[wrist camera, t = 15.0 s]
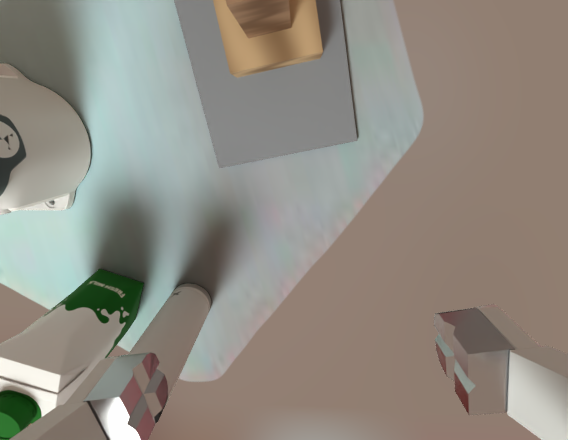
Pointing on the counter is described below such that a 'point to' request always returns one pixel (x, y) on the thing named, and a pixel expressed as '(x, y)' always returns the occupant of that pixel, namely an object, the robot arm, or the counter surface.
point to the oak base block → (271, 40)
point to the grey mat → (270, 92)
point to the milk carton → (63, 348)
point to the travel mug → (175, 331)
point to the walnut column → (261, 15)
